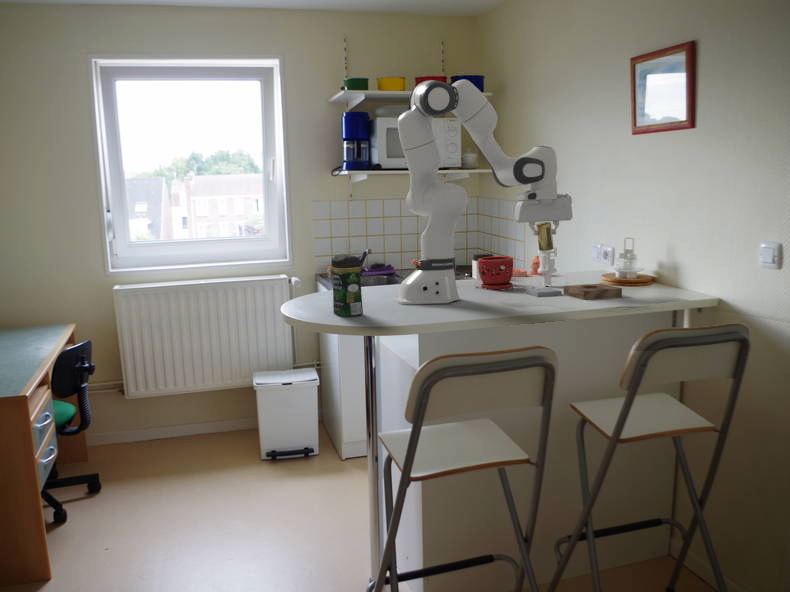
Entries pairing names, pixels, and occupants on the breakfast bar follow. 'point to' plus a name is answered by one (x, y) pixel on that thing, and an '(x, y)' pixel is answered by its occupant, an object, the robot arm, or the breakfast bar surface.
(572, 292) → the eye block
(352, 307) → the coffee jar
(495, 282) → the plant pot
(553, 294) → the slate coaster
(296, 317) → the breakfast bar surface
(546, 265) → the grey tall piece
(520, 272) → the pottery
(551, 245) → the brass peg
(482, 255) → the jar
